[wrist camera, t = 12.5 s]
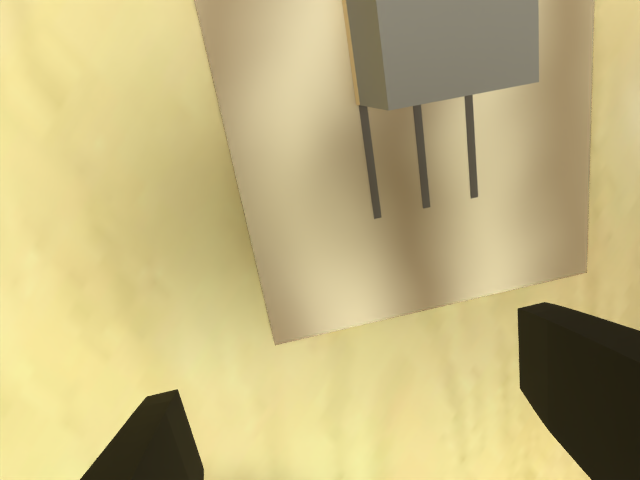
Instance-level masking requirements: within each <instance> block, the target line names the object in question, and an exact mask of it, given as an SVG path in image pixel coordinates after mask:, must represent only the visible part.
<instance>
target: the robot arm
mask: <svg viewBox="0 0 640 480" xmlns="http://www.w3.org/2000/svg"><path fill="white" fill-rule="evenodd" d="M518 335H519V370H520V389H521V391H522V392H523V394H524V395H525V397H526V398H527V400H528V401H529V403H530V404H531V406H532V407H533V409H534V410H535V412H536V413H537V415H538V416H539V418H540V419H541V420H542V422H543V423H544V425H545V426H546V428H547V429H548V430H549V431H550V433H551V434H552V435H553V436H554V437H555V438H556V440H557V441H558V442H559V443H560V444H561V445H562V447H563V448H564V449H565V450H566V451H567V452H568V453H569V455H570V456H571V457H572V458H573V459H574V460H575V461H576V463H577V464H578V465H579V466H580V467H581V468H582V469H583V471H584V472H585V473H586V474H587V475H588V476H589V477H590V478H591V480H640V331H639V330H635V329H632V328H629V327H626V326H623V325H620V324H617V323H614V322H610V321H607V320H604V319H601V318H598V317H595V316H592V315H589V314H586V313H582V312H579V311H576V310H572V309H569V308H566V307H562V306H558V305H555V304H550V303H546V302H544V303H539V304H535V305H531V306H527V307H523V308H518ZM80 480H204V468H203V465H202V462H201V459H200V456H199V453H198V450H197V447H196V444H195V441H194V438H193V435H192V431H191V428H190V425H189V422H188V419H187V416H186V413H185V410H184V407H183V404H182V401H181V398H180V395H179V392H178V389H177V390H173V391H169V392H164V393H160V394H156V395H152V396H147V397H146V398H145V399H144V401H143V402H142V403H141V404H140V405H139V406H138V408H137V409H136V410H135V411H134V413H133V414H132V415H131V416H130V418H129V419H128V420H127V422H126V423H125V424H124V425H123V427H122V428H121V429H120V430H119V432H118V433H117V434H116V436H115V437H114V438H113V439H112V441H111V442H110V443H109V444H108V446H107V447H106V448H105V449H104V451H103V452H102V453H101V454H100V456H99V457H98V458H97V459H96V460H95V462H94V463H93V464H92V465H91V467H90V468H89V469H88V470H87V472H86V473H85V474H84V475H83V477H82V478H81V479H80Z"/></svg>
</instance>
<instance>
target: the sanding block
mask: <svg viewBox="0 0 640 480" xmlns="http://www.w3.org/2000/svg"><path fill="white" fill-rule="evenodd" d="M342 6H343V13H344V20H345V27H346V35H347V42H348V49H349V56H350V64H351V71H352V78H353V86H354V93H355V100H356V105H361V106H366V107H372V108H377V109H383V110H388V111H389V110H395V109H400V108H405V107H410V106H416V105H421V104H426V103H431V102H437V101H442V100H447V99H452V98H458V97H463V96H468V95H473V94H479V93H484V92H489V91H494V90H500V89H505V88H510V87H515V86H521V85H526V84H531V83H536V82H539V7H538V0H342Z"/></svg>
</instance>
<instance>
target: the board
mask: <svg viewBox="0 0 640 480" xmlns="http://www.w3.org/2000/svg"><path fill="white" fill-rule="evenodd" d="M194 1H195V5H196V9H197V13H198V18H199V22H200V26H201V31H202V35H203V39H204V43H205V48H206V52H207V56H208V61H209V65H210V69H211V73H212V78H213V82H214V86H215V90H216V95H217V99H218V103H219V108H220V112H221V116H222V120H223V125H224V129H225V133H226V138H227V142H228V146H229V150H230V155H231V159H232V163H233V167H234V172H235V176H236V180H237V185H238V189H239V193H240V197H241V202H242V206H243V210H244V215H245V219H246V223H247V227H248V232H249V236H250V240H251V244H252V249H253V253H254V257H255V262H256V266H257V270H258V274H259V279H260V283H261V287H262V292H263V296H264V300H265V304H266V309H267V313H268V317H269V321H270V326H271V330H272V334H273V339H274V343H275V345H278V344H282V343H287V342H291V341H295V340H299V339H304V338H308V337H312V336H317V335H321V334H325V333H329V332H334V331H338V330H342V329H347V328H351V327H355V326H360V325H364V324H368V323H372V322H377V321H381V320H385V319H390V318H394V317H398V316H402V315H407V314H411V313H415V312H420V311H424V310H428V309H432V308H437V307H441V306H445V305H450V304H454V303H458V302H462V301H467V300H471V299H475V298H480V297H484V296H488V295H493V294H497V293H501V292H505V291H510V290H514V289H518V288H523V287H527V286H531V285H535V284H540V283H544V282H548V281H553V280H557V279H561V278H565V277H570V276H574V275H578V274H583V273H587V250H588V214H589V178H590V141H591V105H592V68H593V32H594V0H538V7H539V82H536V83H531V84H526V85H521V86H515V87H510V88H505V89H500V90H494V91H489V92H484V93H479V94H473V95H468V96H463V97H458V98H452V99H447V100H442V101H437V102H431V103H426V104H421V105H416V106H410V107H405V108H400V109H395V110H389V111H388V110H383V109H377V108H372V107H366V106H361V105H356V100H355V93H354V86H353V78H352V71H351V64H350V56H349V49H348V42H347V35H346V27H345V20H344V13H343V6H342V0H194Z"/></svg>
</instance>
